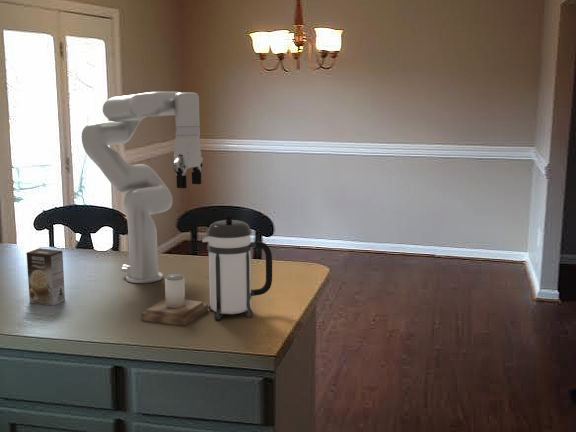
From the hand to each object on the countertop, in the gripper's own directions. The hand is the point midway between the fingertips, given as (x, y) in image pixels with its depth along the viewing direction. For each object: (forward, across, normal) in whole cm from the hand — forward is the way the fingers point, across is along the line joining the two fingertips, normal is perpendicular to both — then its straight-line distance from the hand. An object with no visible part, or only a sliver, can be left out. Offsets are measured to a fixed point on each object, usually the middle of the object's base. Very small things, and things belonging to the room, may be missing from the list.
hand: (189, 186), depth 221 cm
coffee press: (+34, +17, +23) cm, 45 cm away
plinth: (+34, +25, +8) cm, 43 cm away
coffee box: (+35, +27, -36) cm, 57 cm away
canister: (+31, +25, +8) cm, 41 cm away
